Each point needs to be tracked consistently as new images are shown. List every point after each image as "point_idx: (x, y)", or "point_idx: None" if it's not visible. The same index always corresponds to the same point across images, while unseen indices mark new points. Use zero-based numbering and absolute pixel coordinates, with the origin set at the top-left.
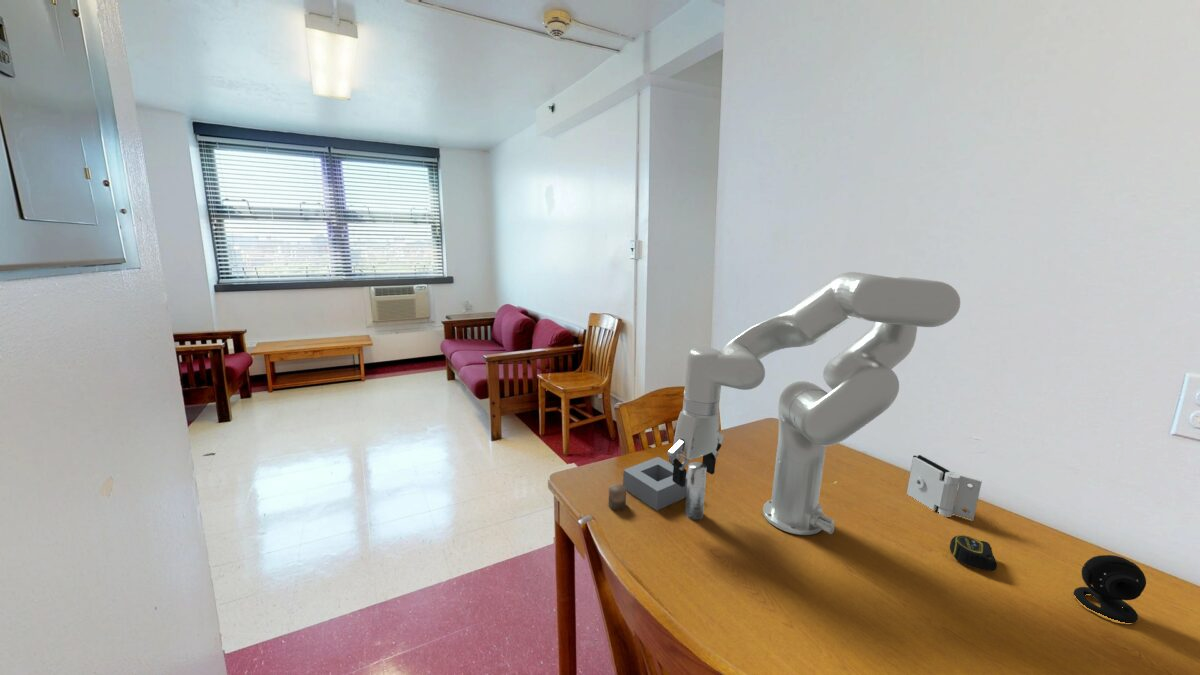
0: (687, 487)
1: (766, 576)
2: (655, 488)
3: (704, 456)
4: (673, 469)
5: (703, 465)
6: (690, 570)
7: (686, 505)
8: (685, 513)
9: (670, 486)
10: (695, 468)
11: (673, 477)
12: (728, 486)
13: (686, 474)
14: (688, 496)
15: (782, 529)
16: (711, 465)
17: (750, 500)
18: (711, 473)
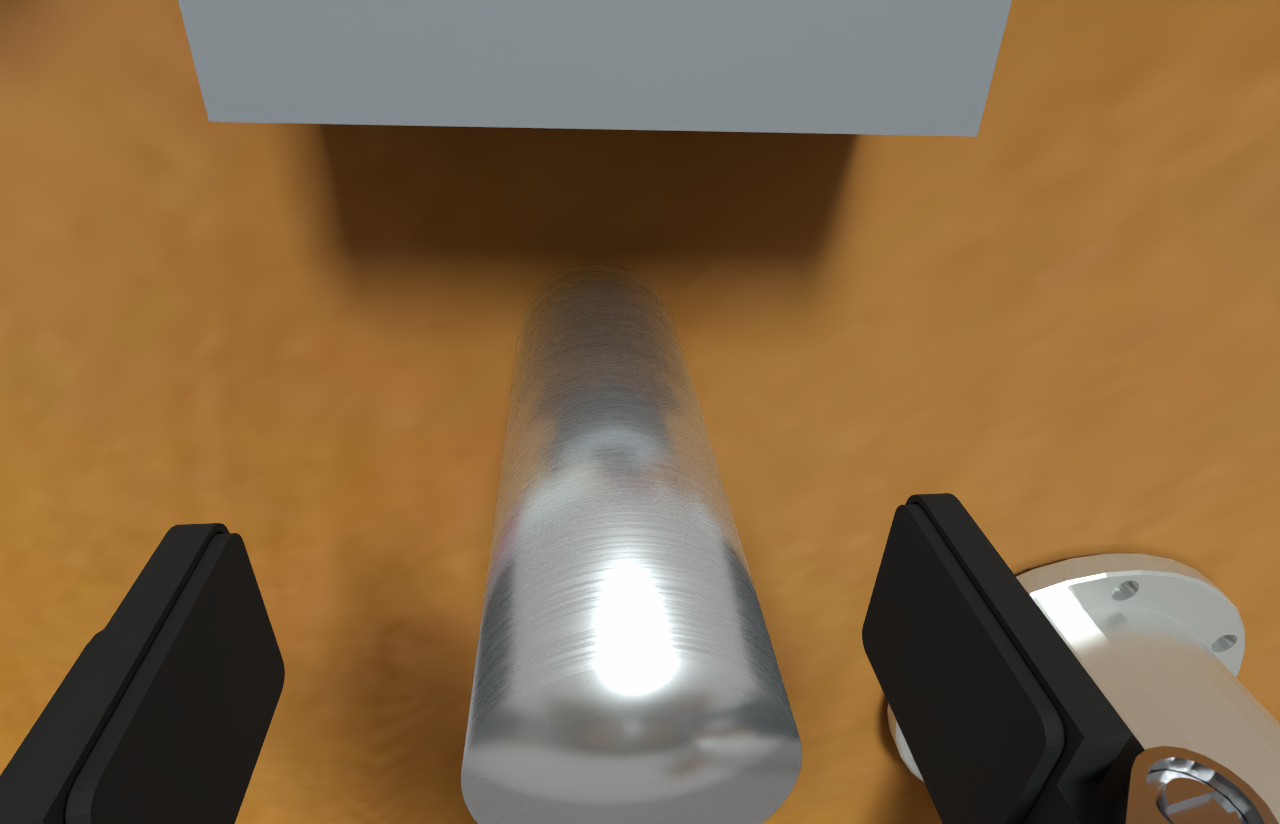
0: (507, 466)
1: None
2: (218, 39)
3: (1017, 726)
4: (60, 701)
5: (741, 800)
6: None
7: (521, 350)
8: (533, 299)
9: (493, 126)
10: (534, 807)
11: (82, 655)
12: (1241, 227)
13: (943, 46)
14: (505, 437)
15: (888, 715)
16: (919, 742)
17: (1108, 457)
18: (865, 645)
